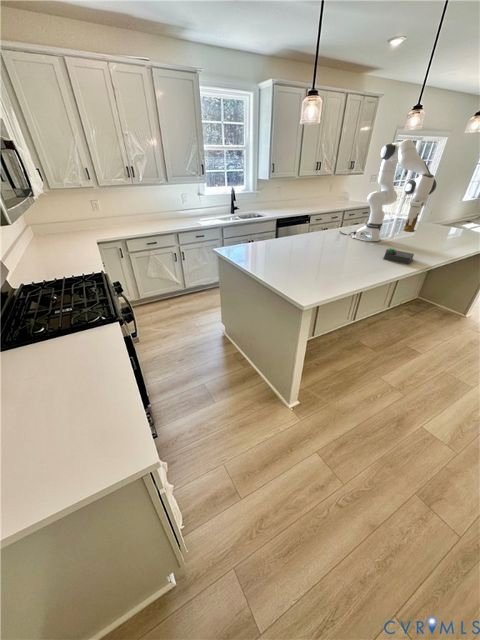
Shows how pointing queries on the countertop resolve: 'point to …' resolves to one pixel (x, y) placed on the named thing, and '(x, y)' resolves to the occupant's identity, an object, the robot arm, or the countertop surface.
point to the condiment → (410, 227)
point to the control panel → (398, 256)
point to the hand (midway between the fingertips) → (411, 224)
